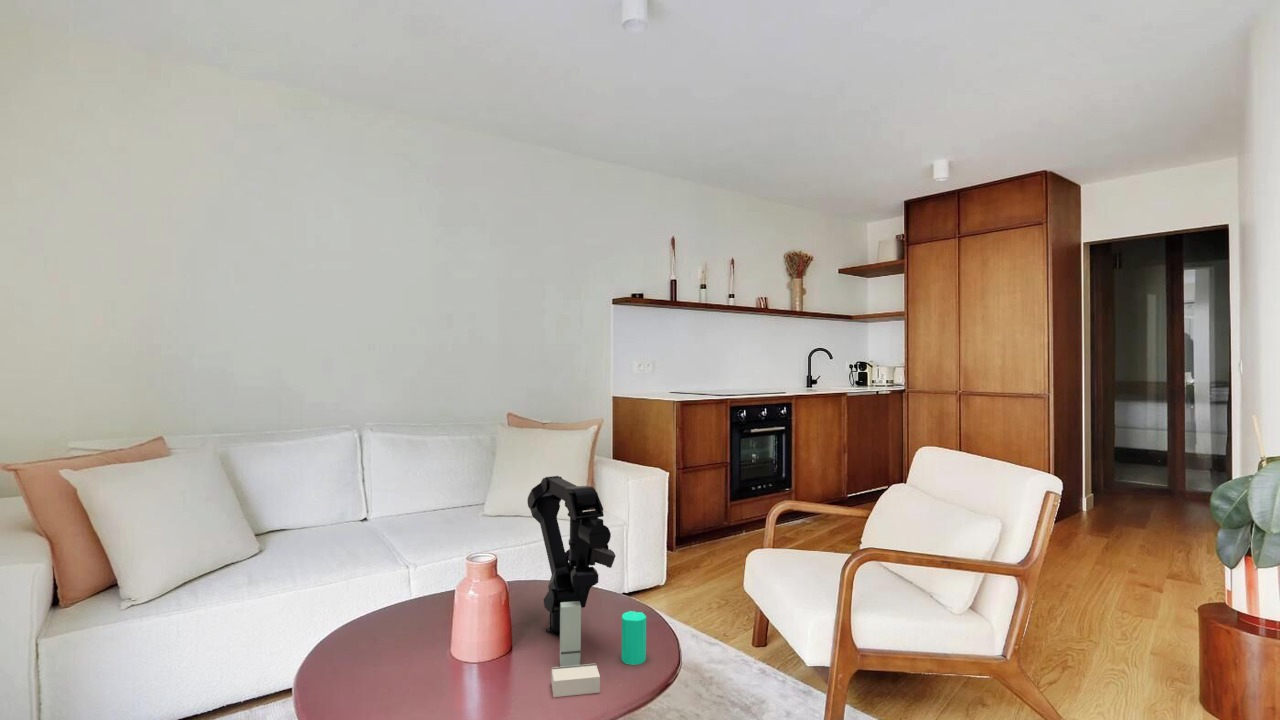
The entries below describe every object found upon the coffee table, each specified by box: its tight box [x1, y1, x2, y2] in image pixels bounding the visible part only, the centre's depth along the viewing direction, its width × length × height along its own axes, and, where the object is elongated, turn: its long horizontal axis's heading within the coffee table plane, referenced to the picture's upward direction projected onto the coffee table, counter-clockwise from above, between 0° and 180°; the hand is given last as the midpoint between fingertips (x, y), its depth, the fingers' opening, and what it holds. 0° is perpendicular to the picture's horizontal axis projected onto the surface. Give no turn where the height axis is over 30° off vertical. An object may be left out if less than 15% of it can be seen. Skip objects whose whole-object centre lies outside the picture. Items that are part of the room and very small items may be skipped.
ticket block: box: [550, 663, 601, 698], centre depth 143 cm, size 6×10×4 cm, turn 102°
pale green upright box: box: [559, 601, 582, 667], centre depth 153 cm, size 3×5×14 cm, turn 103°
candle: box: [621, 609, 647, 666], centre depth 156 cm, size 6×6×12 cm
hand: (580, 600), depth 162 cm, fingers open, 9 cm apart
